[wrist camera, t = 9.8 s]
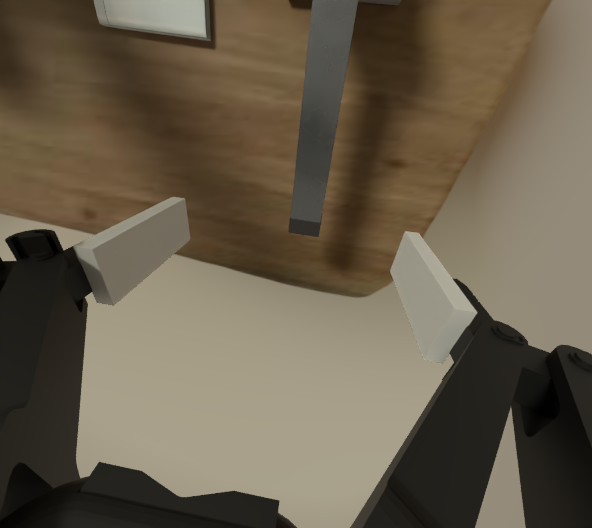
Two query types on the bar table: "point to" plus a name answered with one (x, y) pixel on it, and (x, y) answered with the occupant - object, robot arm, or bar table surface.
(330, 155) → the shaft
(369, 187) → the bar table surface
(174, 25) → the hard drive
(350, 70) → the bar table surface
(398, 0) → the block
